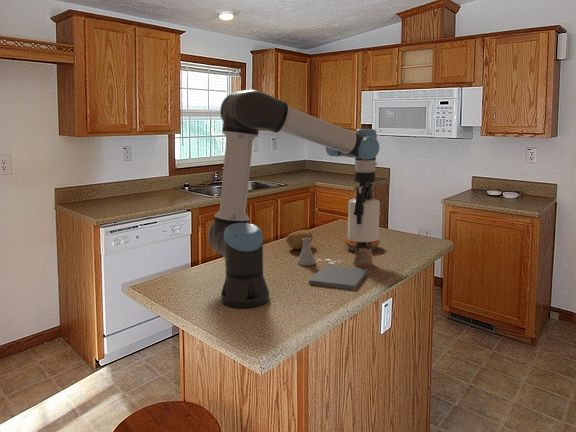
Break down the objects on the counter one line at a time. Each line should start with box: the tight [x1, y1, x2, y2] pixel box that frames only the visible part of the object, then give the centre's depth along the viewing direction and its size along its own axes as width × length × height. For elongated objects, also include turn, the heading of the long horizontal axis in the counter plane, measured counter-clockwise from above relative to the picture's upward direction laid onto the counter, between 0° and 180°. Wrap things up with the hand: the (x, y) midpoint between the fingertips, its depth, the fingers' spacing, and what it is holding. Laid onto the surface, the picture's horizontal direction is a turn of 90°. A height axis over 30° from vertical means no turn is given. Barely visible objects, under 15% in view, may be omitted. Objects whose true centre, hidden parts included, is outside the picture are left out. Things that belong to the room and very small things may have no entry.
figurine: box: [353, 242, 374, 268], centre depth 185 cm, size 7×7×12 cm
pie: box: [343, 237, 381, 252], centre depth 207 cm, size 16×16×5 cm
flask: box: [297, 238, 317, 267], centre depth 187 cm, size 7×7×10 cm
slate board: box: [308, 264, 369, 291], centre depth 170 cm, size 18×16×2 cm
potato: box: [286, 229, 313, 250], centre depth 208 cm, size 10×14×8 cm
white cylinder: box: [347, 198, 381, 242], centre depth 182 cm, size 11×11×14 cm
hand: (363, 229), depth 183 cm, fingers closed on white cylinder, 11 cm apart
